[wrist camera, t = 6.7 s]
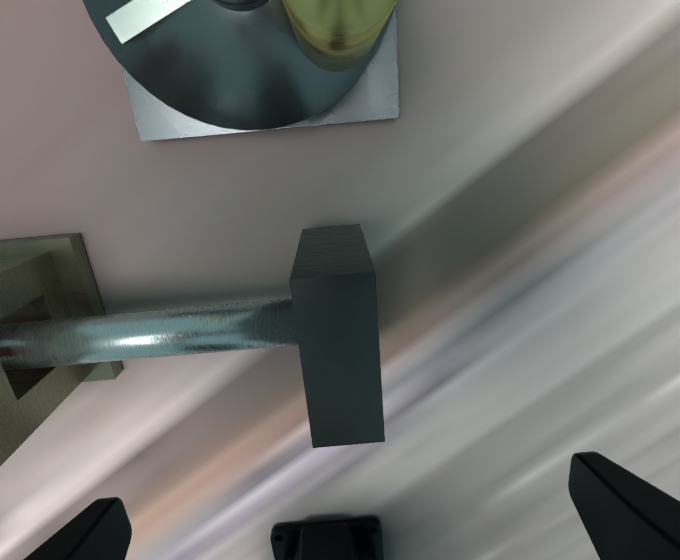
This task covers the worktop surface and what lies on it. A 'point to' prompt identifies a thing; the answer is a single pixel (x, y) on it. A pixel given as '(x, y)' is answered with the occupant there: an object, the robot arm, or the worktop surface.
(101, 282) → the worktop surface
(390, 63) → the wheel base
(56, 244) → the grey-green hollow piece
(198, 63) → the handwheel
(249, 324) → the block-headed metal hammer
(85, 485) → the worktop surface
